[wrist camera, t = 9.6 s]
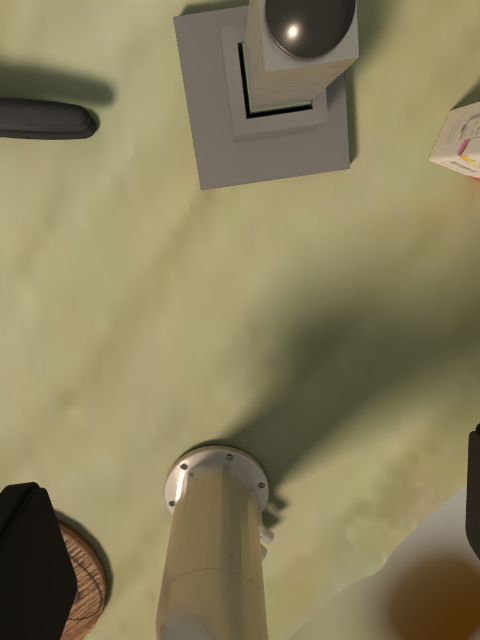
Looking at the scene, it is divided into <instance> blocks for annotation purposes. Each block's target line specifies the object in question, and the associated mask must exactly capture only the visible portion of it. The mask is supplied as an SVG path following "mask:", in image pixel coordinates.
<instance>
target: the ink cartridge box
mask: <svg viewBox="0 0 480 640" xmlns="http://www.w3.org/2000/svg"><path fill="white" fill-rule="evenodd" d="M429 160H430V161H432V162H435V163H437V164H439V165H442V166H444V167H447V168H449V169H452V170H454V171H457V172H459V173H461V174H464V175H467V176H469V177H472V178H474V179H477V180H479V181H480V101H479V102H476V103H473V104H470V105H467V106H463V107H460V108H457V109H454V110H451V111H450V112H449V114H448V117H447V119H446V121H445V123H444V126H443V128H442V130H441V132H440V135H439V137H438V139H437V141H436V143H435V146H434V148H433V150H432V152H431V155H430V157H429Z"/></svg>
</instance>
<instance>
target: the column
mask: <svg viewBox="0 0 480 640" xmlns="http://www.w3.org/2000/svg"><path fill="white" fill-rule="evenodd" d="M242 50H243V67H244V75H245V84H246V92H247V100H248V109H249V117H255V116H262V115H268V114H275V113H282V112H288V111H295V110H301V109H302V108H303V107H304V106H307V105H310V104H311V100H312V99H313V98H314V97H316V96H317V95H318V94H319V93H320V92H321V91H322V90H323V89H325V88H326V87H327V86H328V85H329V84H330V83H331V82H332V81H333V80H335V79H336V78H337V77H338V76H339V75H340V74H341V73H342V72H344V71H345V70H346V69H347V68H348V67H349V66H350V65H351V64H353V63H354V62H355V61H356V60H357V59H358V58H359V46H358V23H357V0H249V7H248V16H247V24H246V33H245V42H244V43H242Z"/></svg>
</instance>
